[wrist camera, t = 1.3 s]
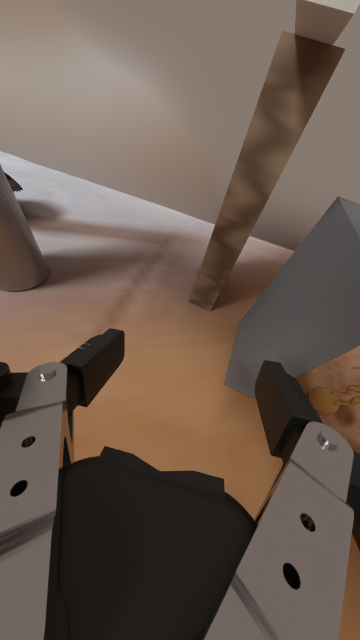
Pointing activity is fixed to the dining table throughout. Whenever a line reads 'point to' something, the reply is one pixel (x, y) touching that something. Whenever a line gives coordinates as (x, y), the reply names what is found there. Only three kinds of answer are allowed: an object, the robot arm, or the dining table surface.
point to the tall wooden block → (265, 152)
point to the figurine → (332, 398)
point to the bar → (323, 18)
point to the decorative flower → (13, 183)
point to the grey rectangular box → (305, 304)
